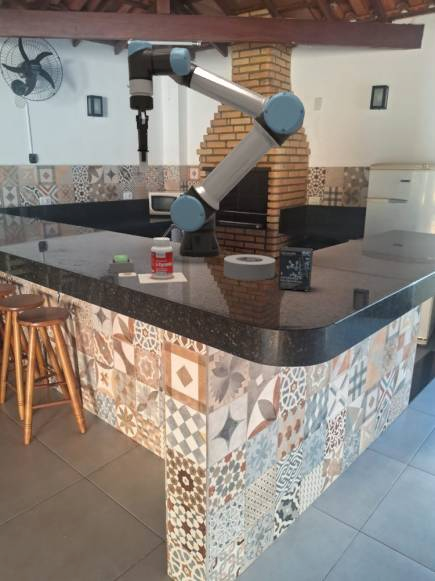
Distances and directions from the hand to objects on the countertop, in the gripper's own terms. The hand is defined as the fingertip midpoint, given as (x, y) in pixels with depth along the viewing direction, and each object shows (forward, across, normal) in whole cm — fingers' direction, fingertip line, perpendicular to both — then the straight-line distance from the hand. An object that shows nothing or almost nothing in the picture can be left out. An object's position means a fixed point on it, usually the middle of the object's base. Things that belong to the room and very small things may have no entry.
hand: (143, 172), depth 147 cm
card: (+29, +25, -8) cm, 39 cm away
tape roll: (+30, +31, +28) cm, 51 cm away
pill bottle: (+29, +31, +2) cm, 43 cm away
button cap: (+29, +18, -9) cm, 35 cm away
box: (+30, +49, +35) cm, 67 cm away
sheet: (+29, +31, +2) cm, 43 cm away
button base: (+29, +18, -9) cm, 36 cm away
